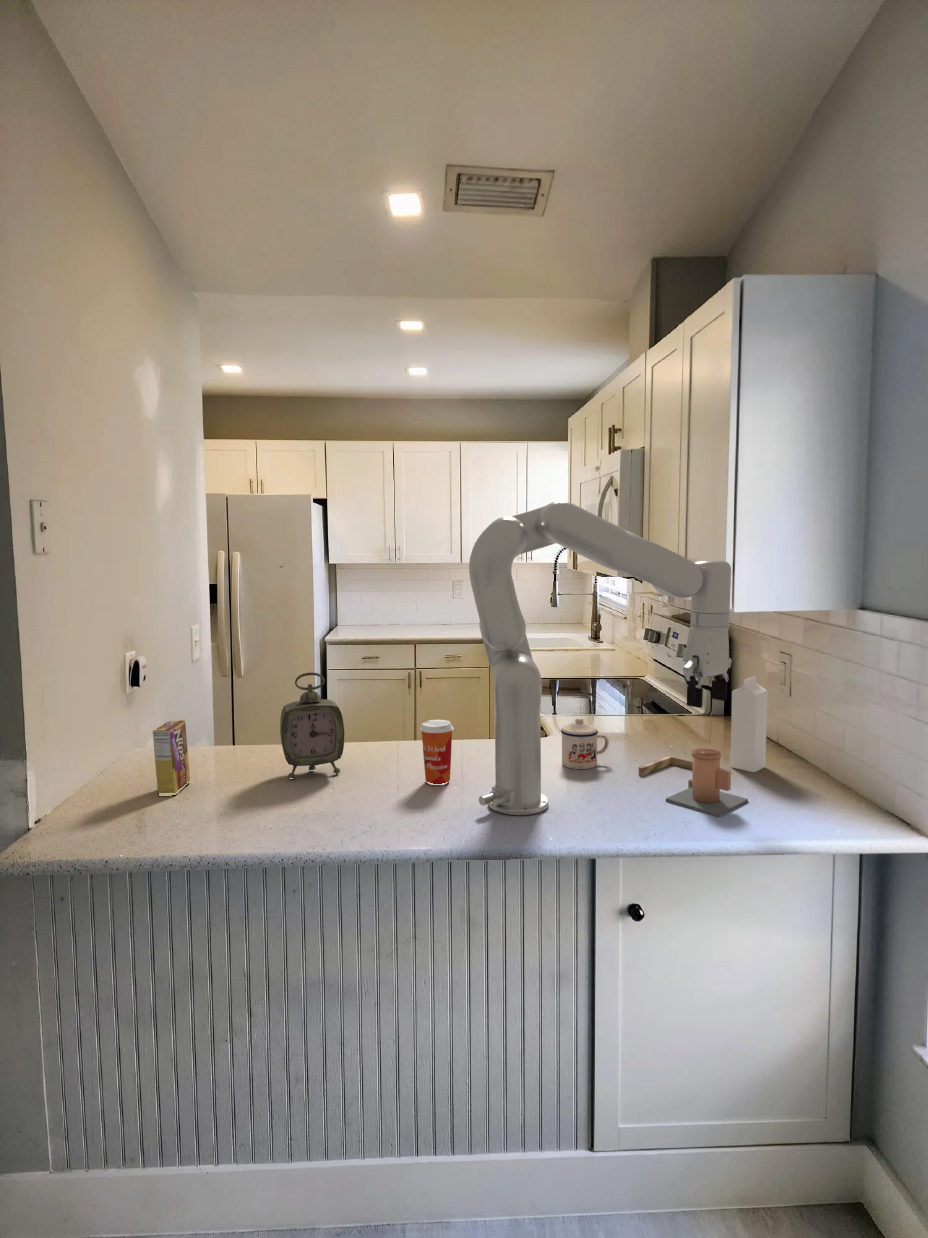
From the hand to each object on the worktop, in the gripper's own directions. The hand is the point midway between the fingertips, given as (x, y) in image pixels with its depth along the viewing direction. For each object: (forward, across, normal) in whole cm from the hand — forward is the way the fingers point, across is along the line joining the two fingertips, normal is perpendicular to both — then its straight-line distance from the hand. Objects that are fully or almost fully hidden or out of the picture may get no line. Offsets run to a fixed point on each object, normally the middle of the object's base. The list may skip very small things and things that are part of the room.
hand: (706, 703), depth 144 cm
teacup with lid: (+22, -2, -34) cm, 40 cm away
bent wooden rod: (+21, -12, -12) cm, 27 cm away
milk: (+21, -28, -4) cm, 36 cm away
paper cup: (+22, +32, -48) cm, 62 cm away
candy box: (+23, +80, -86) cm, 120 cm away
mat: (+21, 0, 0) cm, 21 cm away
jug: (+20, 0, +1) cm, 20 cm away
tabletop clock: (+23, +50, -74) cm, 93 cm away
